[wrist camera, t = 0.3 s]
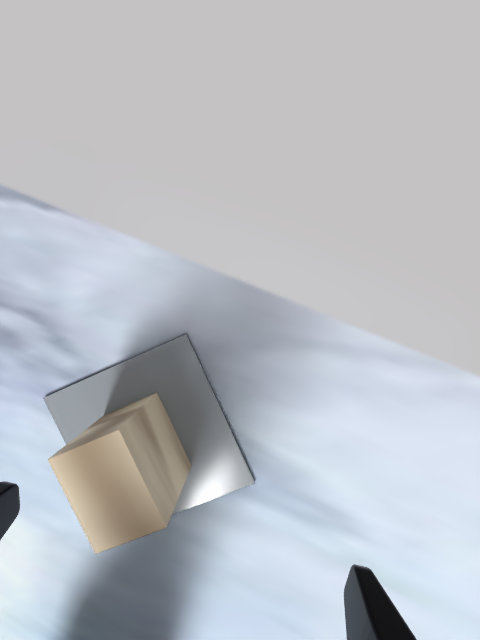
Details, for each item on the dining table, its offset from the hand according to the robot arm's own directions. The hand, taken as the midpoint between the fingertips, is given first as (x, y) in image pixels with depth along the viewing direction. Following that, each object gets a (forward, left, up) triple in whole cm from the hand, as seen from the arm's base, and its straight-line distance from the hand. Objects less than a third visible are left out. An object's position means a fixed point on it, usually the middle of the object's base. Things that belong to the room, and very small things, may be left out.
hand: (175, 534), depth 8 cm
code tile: (-8, -2, -14) cm, 16 cm away
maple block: (-8, -2, -14) cm, 16 cm away
